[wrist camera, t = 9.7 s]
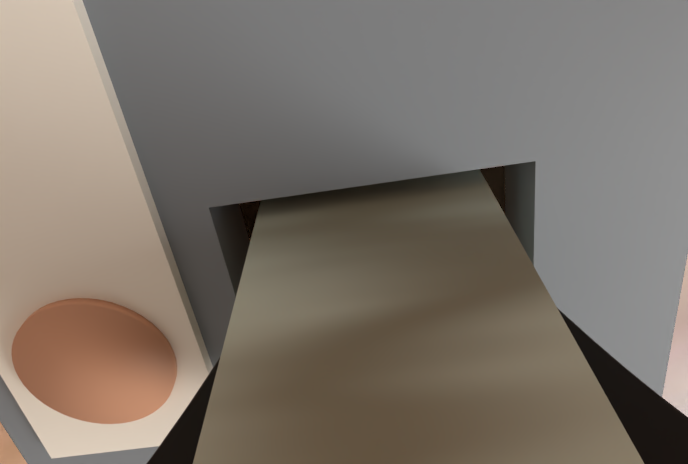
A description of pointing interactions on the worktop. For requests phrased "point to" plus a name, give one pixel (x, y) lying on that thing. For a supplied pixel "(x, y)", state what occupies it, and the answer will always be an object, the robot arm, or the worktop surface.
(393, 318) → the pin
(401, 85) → the board
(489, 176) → the worktop surface
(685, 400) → the worktop surface
